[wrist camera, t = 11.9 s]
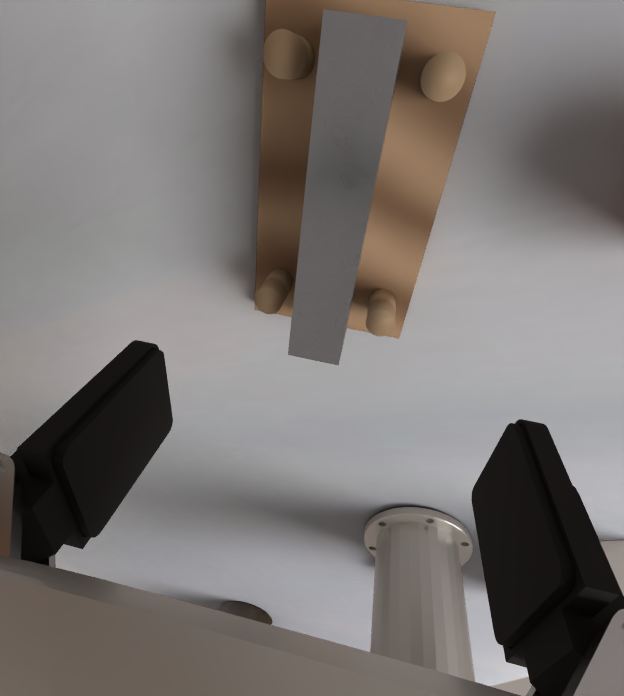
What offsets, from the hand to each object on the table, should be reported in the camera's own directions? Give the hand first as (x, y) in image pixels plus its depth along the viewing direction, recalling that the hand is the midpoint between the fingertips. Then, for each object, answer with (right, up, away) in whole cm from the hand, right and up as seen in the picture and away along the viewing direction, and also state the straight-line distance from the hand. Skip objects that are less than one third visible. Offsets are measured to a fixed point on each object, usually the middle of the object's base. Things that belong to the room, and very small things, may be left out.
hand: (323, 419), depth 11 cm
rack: (+2, +13, +16) cm, 21 cm away
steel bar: (+2, +12, +15) cm, 20 cm away
